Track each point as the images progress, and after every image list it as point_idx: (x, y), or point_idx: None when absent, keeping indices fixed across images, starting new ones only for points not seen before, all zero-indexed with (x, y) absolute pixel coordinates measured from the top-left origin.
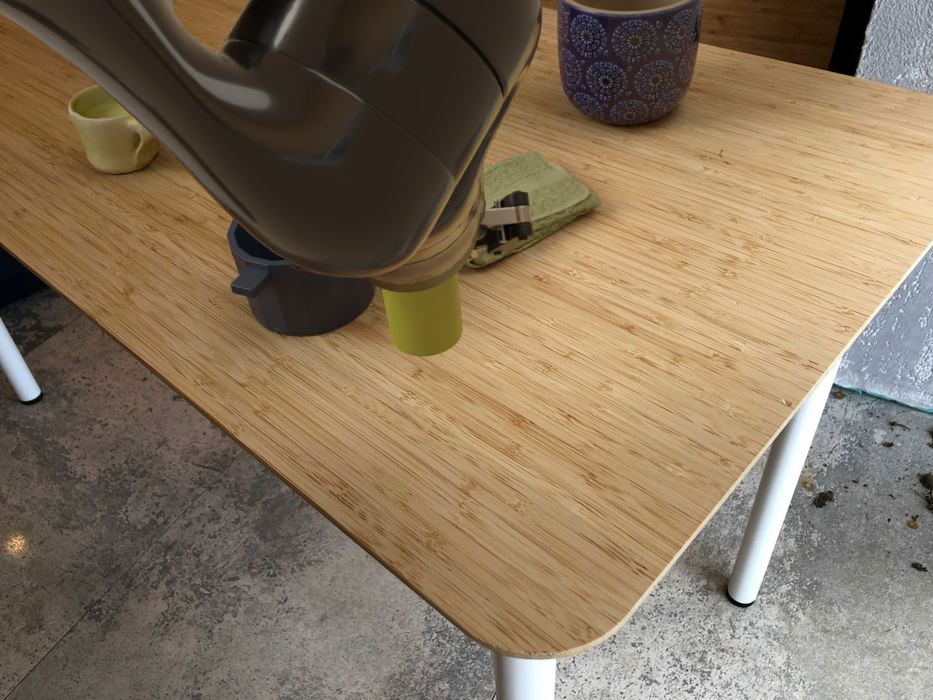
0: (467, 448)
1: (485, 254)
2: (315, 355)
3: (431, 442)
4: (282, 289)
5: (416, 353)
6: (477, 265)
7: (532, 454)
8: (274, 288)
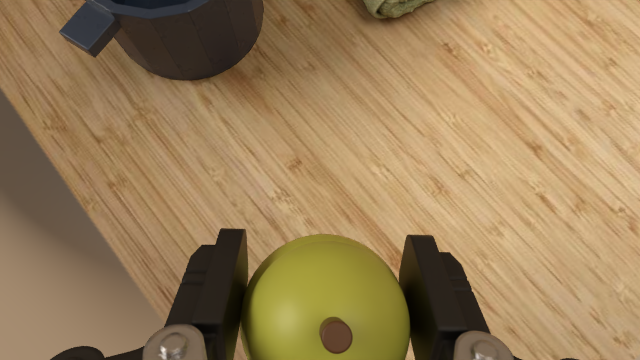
0: None
1: (396, 7)
2: (183, 112)
3: None
4: (137, 38)
5: None
6: (383, 15)
7: None
8: (127, 35)
